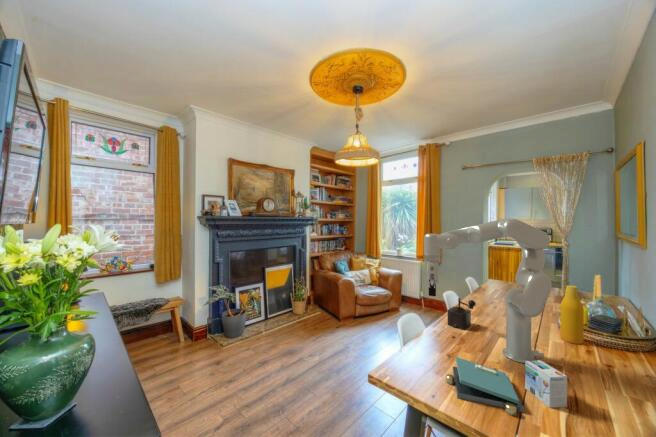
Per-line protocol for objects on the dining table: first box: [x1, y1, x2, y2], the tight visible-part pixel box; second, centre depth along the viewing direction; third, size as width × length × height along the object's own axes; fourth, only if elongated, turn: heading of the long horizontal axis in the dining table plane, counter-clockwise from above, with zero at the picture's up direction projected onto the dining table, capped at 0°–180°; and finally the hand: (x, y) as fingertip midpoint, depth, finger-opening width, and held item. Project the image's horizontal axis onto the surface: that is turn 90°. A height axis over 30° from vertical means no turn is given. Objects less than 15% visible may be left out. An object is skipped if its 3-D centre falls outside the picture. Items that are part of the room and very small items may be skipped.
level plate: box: [455, 356, 520, 404], centre depth 100 cm, size 18×17×2 cm
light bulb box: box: [524, 360, 568, 408], centre depth 96 cm, size 11×7×11 cm, turn 5°
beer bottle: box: [559, 284, 585, 345], centre depth 140 cm, size 9×9×29 cm
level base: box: [445, 366, 524, 417], centre depth 101 cm, size 23×24×2 cm
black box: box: [447, 297, 476, 330], centre depth 158 cm, size 16×11×18 cm
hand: (432, 293), depth 130 cm, fingers open, 9 cm apart
